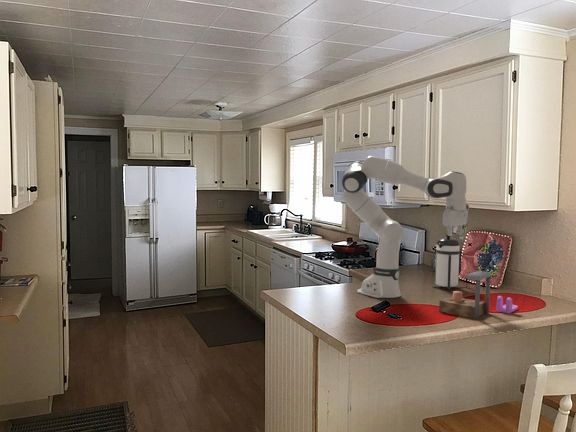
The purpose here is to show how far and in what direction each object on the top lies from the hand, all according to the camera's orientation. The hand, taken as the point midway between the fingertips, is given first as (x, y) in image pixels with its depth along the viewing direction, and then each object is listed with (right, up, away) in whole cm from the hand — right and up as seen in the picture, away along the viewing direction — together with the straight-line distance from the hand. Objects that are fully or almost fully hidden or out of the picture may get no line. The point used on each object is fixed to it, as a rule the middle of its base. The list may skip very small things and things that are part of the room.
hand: (454, 235), depth 239 cm
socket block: (-1, -34, -12) cm, 36 cm away
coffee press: (+9, -31, +40) cm, 51 cm away
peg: (-2, -34, -11) cm, 36 cm away
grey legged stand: (+5, -35, -17) cm, 39 cm away
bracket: (+23, -35, -7) cm, 42 cm away
